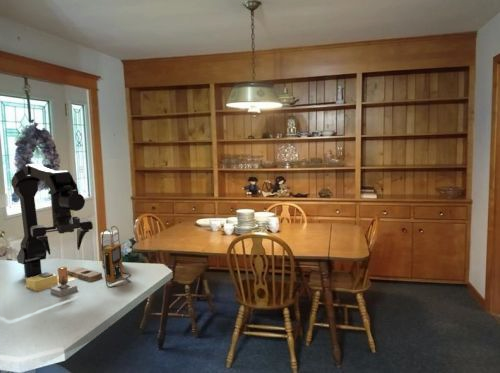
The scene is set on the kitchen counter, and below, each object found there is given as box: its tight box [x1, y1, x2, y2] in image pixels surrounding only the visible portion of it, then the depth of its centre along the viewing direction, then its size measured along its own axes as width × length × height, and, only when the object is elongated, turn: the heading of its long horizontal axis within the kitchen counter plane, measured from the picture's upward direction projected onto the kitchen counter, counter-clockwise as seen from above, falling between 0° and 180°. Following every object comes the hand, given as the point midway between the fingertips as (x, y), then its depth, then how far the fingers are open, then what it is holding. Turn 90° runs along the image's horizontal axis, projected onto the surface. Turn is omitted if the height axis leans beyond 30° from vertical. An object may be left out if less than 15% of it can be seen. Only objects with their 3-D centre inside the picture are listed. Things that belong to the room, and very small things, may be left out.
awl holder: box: [49, 282, 79, 297], centre depth 132 cm, size 6×6×2 cm
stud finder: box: [25, 271, 58, 291], centre depth 139 cm, size 6×8×4 cm
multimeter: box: [102, 225, 132, 288], centre depth 143 cm, size 15×10×20 cm
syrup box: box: [99, 230, 121, 268], centre depth 161 cm, size 6×6×14 cm
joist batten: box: [67, 266, 103, 282], centre depth 147 cm, size 15×5×2 cm, turn 56°
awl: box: [57, 266, 69, 289], centre depth 132 cm, size 3×3×9 cm
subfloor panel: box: [24, 275, 79, 292], centre depth 142 cm, size 10×15×1 cm, turn 146°
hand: (64, 251), depth 135 cm, fingers open, 9 cm apart
